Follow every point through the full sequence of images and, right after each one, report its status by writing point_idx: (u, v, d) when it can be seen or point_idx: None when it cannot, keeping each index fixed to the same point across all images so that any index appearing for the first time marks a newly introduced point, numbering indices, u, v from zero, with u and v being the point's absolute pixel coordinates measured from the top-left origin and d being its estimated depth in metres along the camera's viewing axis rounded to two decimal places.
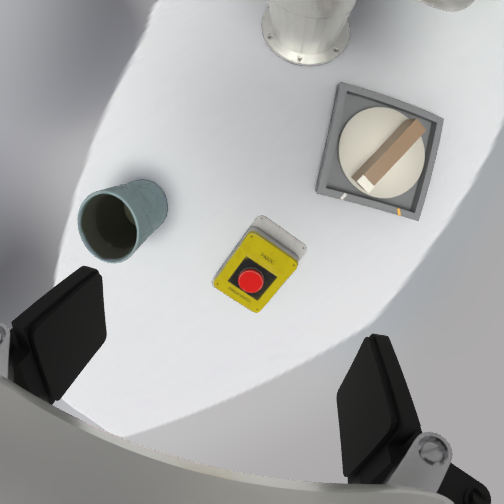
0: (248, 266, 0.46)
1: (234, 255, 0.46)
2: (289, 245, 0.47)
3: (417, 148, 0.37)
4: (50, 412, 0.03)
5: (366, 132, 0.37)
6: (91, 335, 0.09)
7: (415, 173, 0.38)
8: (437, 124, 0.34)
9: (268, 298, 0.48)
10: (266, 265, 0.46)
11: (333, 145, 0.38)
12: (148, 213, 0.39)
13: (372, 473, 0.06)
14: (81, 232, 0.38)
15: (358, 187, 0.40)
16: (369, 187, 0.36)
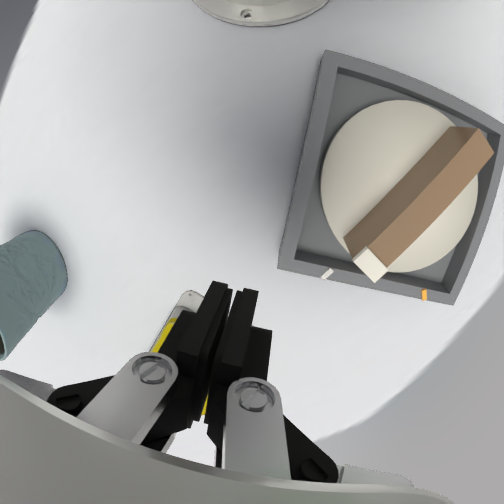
0: None
1: (154, 350, 0.28)
2: None
3: None
4: (50, 412, 0.03)
5: (376, 150, 0.19)
6: None
7: (459, 226, 0.20)
8: (501, 138, 0.16)
9: None
10: None
11: (309, 177, 0.20)
12: (20, 296, 0.21)
13: None
14: None
15: None
16: (377, 272, 0.17)
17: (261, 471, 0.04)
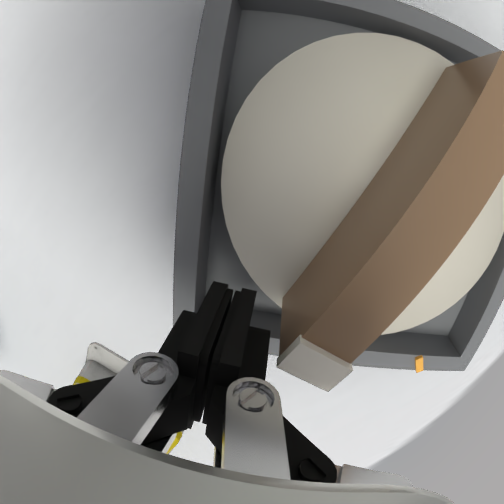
0: None
1: None
2: None
3: None
4: (50, 411, 0.03)
5: (314, 133, 0.10)
6: None
7: (487, 242, 0.11)
8: None
9: None
10: None
11: (196, 189, 0.11)
12: None
13: None
14: None
15: None
16: (331, 376, 0.09)
17: (259, 471, 0.04)
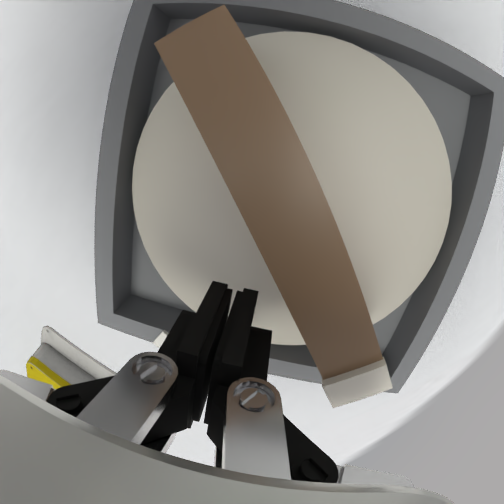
0: None
1: None
2: None
3: (320, 61, 0.09)
4: (50, 412, 0.03)
5: (204, 235, 0.12)
6: None
7: (407, 110, 0.09)
8: (495, 99, 0.08)
9: None
10: None
11: (109, 190, 0.11)
12: None
13: None
14: None
15: None
16: (377, 381, 0.08)
17: (261, 471, 0.04)
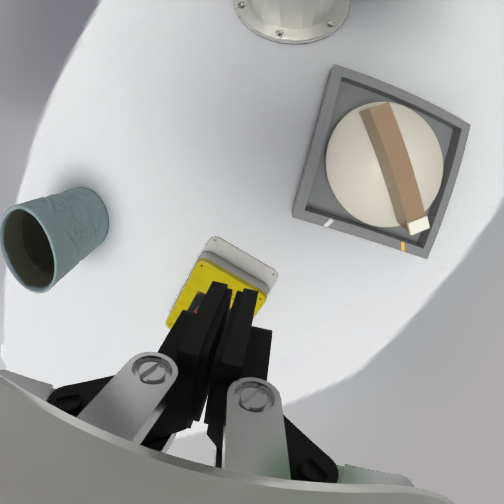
0: None
1: (184, 290, 0.35)
2: (254, 271, 0.36)
3: (400, 115, 0.25)
4: (50, 412, 0.03)
5: (355, 175, 0.28)
6: None
7: (428, 135, 0.26)
8: (462, 131, 0.24)
9: None
10: None
11: (318, 151, 0.27)
12: (74, 234, 0.28)
13: None
14: (4, 252, 0.26)
15: None
16: (424, 223, 0.25)
17: (261, 471, 0.04)
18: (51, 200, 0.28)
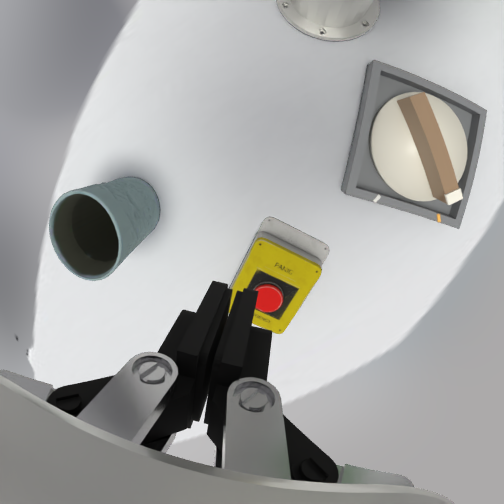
0: (261, 281, 0.38)
1: (243, 270, 0.37)
2: (307, 247, 0.38)
3: (430, 103, 0.27)
4: (50, 412, 0.03)
5: (397, 156, 0.30)
6: None
7: (453, 120, 0.27)
8: (480, 116, 0.26)
9: (291, 315, 0.39)
10: (284, 277, 0.37)
11: (365, 135, 0.29)
12: (134, 218, 0.31)
13: None
14: (54, 242, 0.29)
15: None
16: (458, 194, 0.26)
17: (261, 471, 0.04)
18: (107, 186, 0.30)
